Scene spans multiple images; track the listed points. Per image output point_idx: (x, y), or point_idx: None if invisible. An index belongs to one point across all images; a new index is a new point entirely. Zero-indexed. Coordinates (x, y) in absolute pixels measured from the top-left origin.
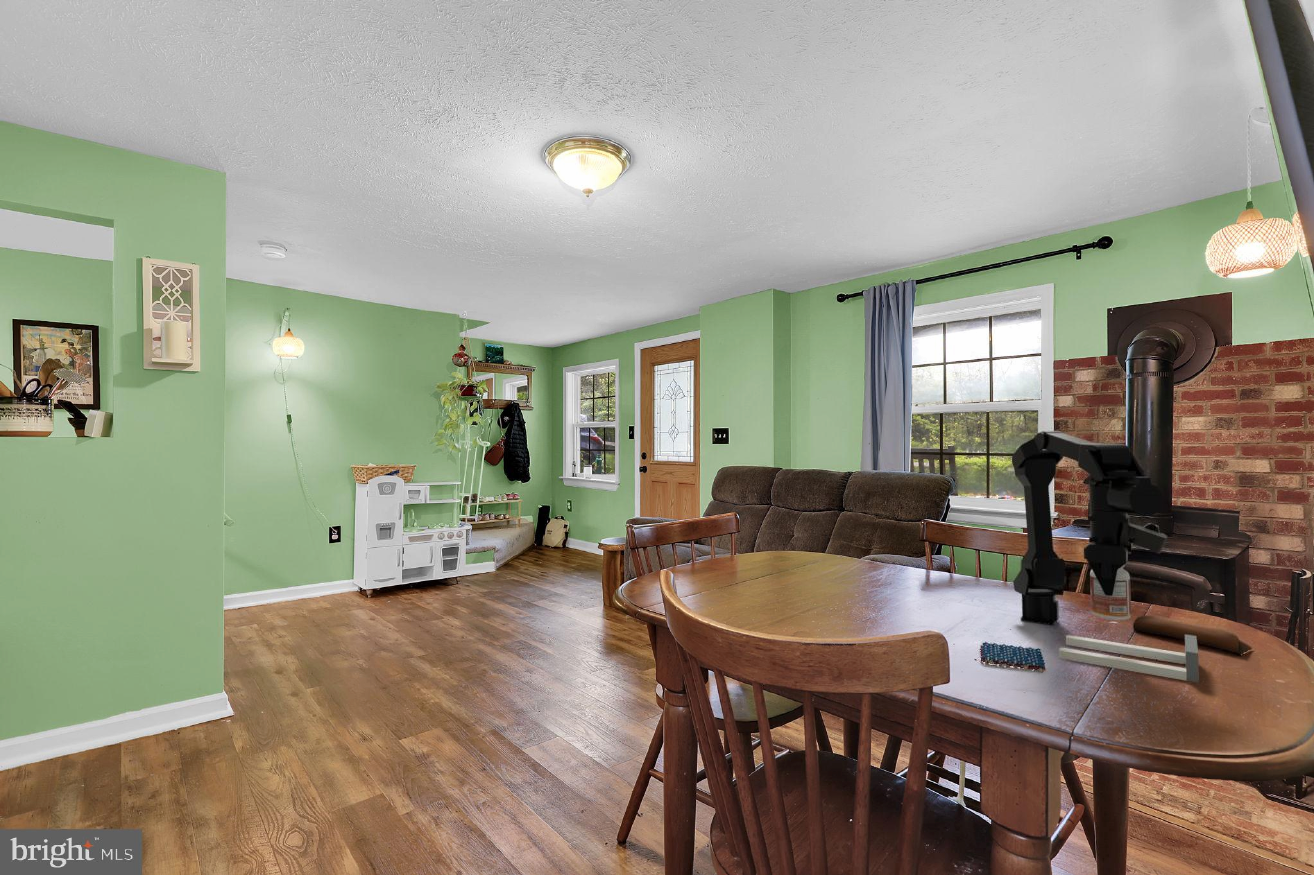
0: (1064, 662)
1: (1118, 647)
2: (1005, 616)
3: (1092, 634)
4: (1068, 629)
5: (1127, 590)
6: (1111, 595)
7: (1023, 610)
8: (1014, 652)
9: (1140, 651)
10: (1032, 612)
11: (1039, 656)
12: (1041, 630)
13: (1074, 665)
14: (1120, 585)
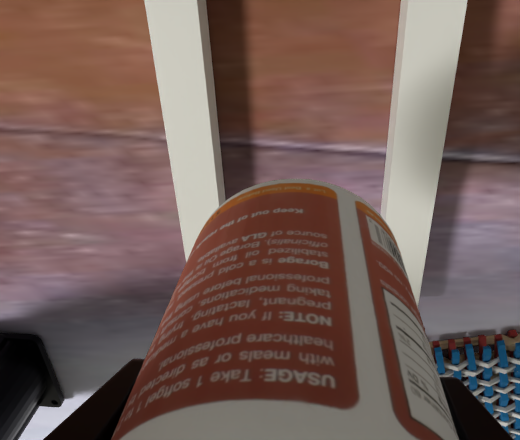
0: (450, 283)
1: (216, 158)
2: (50, 428)
3: (33, 236)
4: (38, 297)
5: (373, 322)
6: (456, 381)
7: (28, 422)
8: (491, 403)
9: (206, 80)
10: (32, 404)
11: (501, 352)
12: (119, 354)
13: (470, 257)
14: (447, 416)
